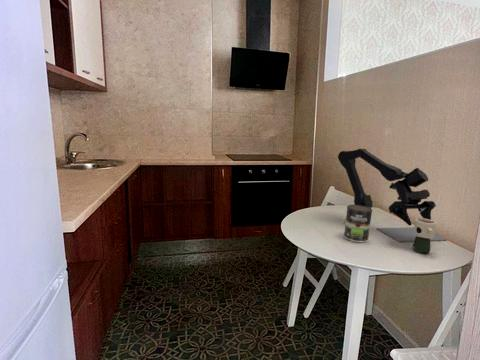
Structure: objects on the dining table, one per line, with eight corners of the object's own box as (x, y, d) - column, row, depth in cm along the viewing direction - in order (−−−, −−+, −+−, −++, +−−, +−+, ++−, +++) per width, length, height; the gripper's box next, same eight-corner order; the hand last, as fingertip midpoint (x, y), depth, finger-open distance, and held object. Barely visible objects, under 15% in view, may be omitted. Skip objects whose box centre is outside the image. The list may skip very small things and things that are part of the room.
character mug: (406, 244, 125) (410, 215, 123) (423, 246, 124) (428, 217, 122) (417, 255, 114) (422, 224, 112) (436, 257, 113) (442, 226, 111)
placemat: (399, 242, 127) (399, 241, 127) (376, 229, 143) (376, 228, 143) (446, 240, 131) (446, 239, 131) (419, 228, 147) (419, 227, 147)
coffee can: (368, 244, 124) (373, 212, 121) (343, 240, 128) (346, 209, 125) (367, 236, 133) (371, 206, 131) (344, 232, 137) (347, 203, 134)
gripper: (396, 182, 120) (412, 216, 112) (436, 182, 123) (454, 215, 115) (382, 196, 129) (395, 228, 121) (419, 196, 133) (435, 227, 124)
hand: (420, 224), depth 120 cm, fingers open, 9 cm apart
